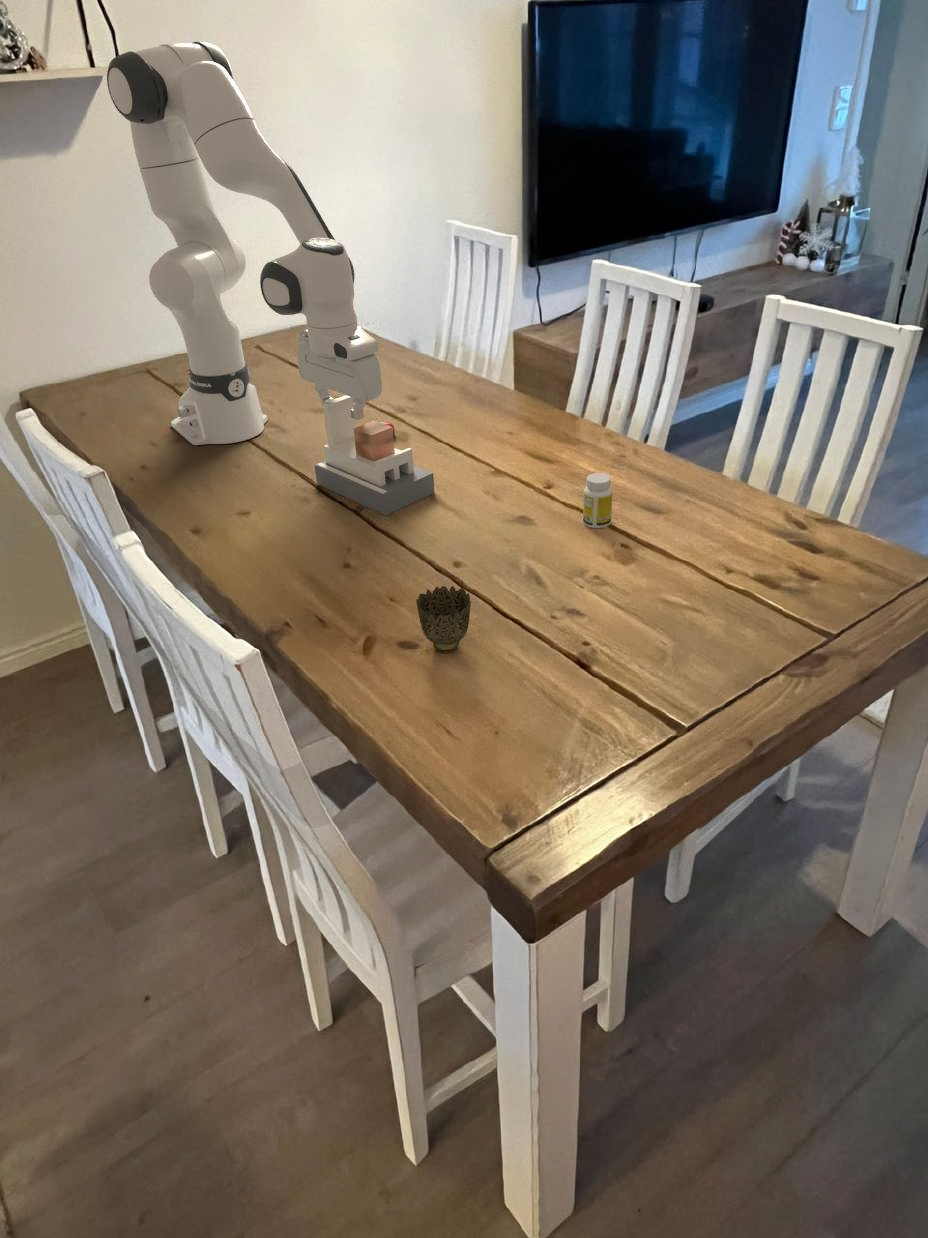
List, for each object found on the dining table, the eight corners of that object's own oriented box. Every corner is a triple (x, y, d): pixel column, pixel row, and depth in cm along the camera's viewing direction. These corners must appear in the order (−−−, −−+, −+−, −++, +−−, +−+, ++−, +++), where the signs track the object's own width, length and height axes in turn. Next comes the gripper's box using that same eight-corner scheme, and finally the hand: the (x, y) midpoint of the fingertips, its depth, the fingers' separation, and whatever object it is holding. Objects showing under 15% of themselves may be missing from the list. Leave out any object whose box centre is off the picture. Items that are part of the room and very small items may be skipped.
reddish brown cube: (356, 454, 165) (353, 428, 163) (377, 445, 168) (374, 420, 165) (373, 461, 162) (371, 435, 160) (394, 452, 165) (392, 427, 162)
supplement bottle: (613, 518, 157) (615, 473, 152) (607, 530, 153) (610, 485, 148) (586, 514, 158) (587, 470, 153) (580, 527, 154) (581, 482, 150)
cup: (418, 634, 129) (415, 587, 125) (470, 630, 130) (468, 582, 125) (421, 665, 123) (417, 616, 119) (475, 660, 124) (473, 612, 119)
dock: (317, 484, 173) (314, 463, 171) (365, 463, 180) (363, 444, 177) (385, 515, 161) (383, 494, 159) (434, 492, 168) (433, 471, 165)
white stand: (325, 462, 171) (318, 404, 165) (358, 449, 176) (352, 392, 169) (380, 486, 162) (374, 426, 155) (413, 472, 166) (409, 412, 160)
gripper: (284, 331, 164) (295, 404, 172) (356, 353, 152) (364, 431, 160) (312, 323, 168) (321, 395, 175) (384, 344, 155) (391, 420, 163)
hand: (342, 412), depth 167 cm, fingers open, 7 cm apart
